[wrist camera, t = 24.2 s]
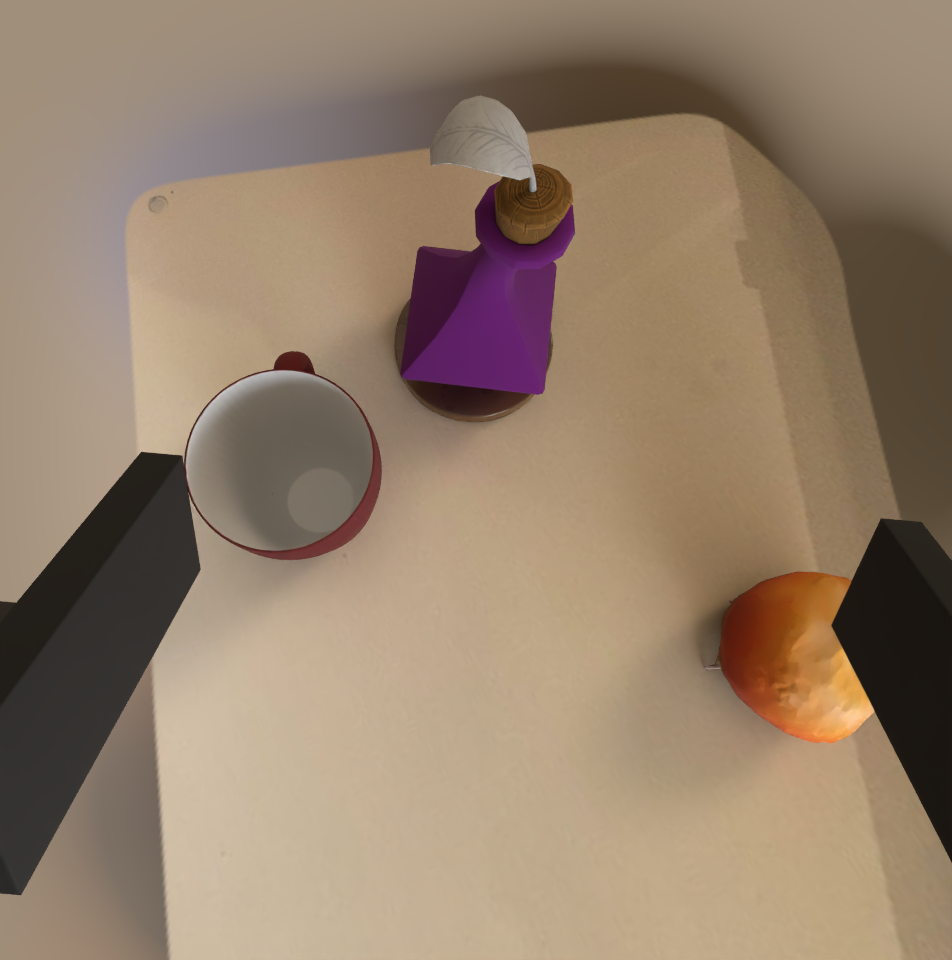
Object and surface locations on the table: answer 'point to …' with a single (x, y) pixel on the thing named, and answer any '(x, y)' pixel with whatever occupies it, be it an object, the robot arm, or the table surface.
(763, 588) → the fruit
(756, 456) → the table surface
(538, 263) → the perfume bottle
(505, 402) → the coaster
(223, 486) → the mug
